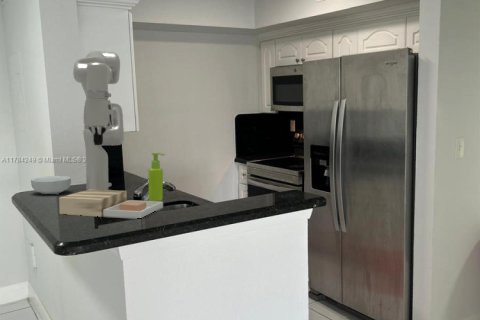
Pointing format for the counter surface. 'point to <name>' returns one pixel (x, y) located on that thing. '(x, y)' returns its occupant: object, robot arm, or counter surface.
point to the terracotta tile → (133, 206)
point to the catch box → (118, 213)
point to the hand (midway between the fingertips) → (98, 144)
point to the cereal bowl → (51, 184)
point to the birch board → (90, 202)
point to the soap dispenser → (156, 180)
